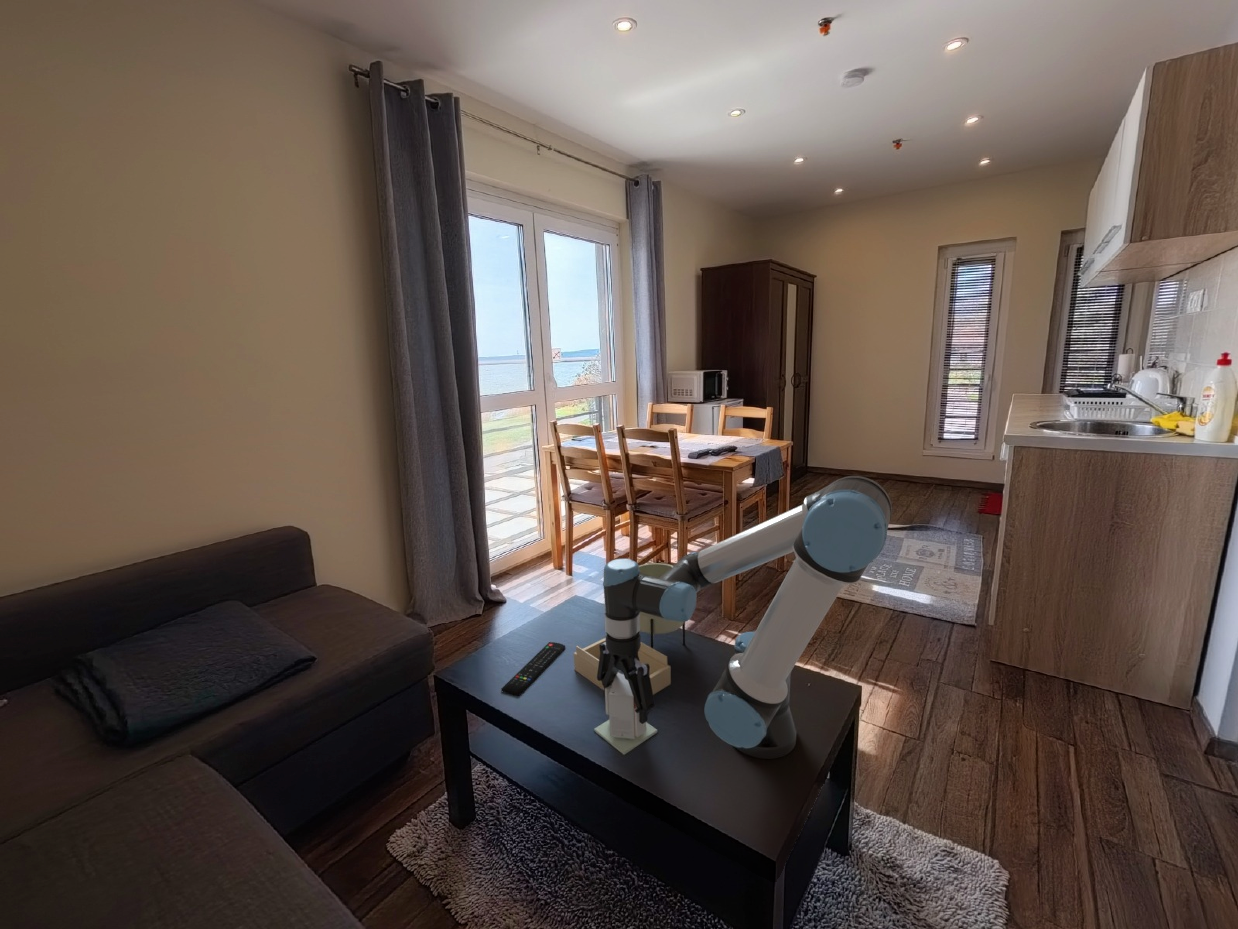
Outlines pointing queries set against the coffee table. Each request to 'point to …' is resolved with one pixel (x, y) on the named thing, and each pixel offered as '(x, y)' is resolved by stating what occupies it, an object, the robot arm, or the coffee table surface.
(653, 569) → the planter
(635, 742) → the pad
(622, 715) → the small box
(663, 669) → the tray
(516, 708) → the coffee table surface
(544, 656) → the remote control
